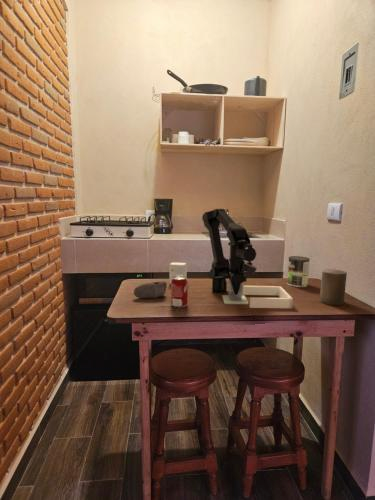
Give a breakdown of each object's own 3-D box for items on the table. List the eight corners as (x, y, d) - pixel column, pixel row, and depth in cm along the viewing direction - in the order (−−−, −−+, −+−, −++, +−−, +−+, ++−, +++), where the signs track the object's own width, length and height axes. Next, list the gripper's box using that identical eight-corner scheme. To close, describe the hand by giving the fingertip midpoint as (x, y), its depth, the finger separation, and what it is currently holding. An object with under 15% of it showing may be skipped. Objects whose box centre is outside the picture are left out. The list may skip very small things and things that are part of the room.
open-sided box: (250, 307, 128) (250, 298, 127) (242, 294, 146) (243, 285, 145) (292, 308, 128) (293, 299, 127) (280, 294, 146) (280, 286, 145)
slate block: (229, 300, 135) (230, 284, 133) (228, 297, 139) (229, 281, 138) (241, 300, 134) (242, 285, 133) (239, 297, 139) (240, 281, 138)
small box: (186, 282, 165) (186, 262, 163) (184, 285, 160) (184, 265, 158) (171, 281, 167) (172, 261, 165) (169, 284, 161) (169, 264, 159)
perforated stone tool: (134, 300, 135) (134, 285, 134) (133, 297, 140) (133, 282, 139) (168, 298, 139) (168, 283, 138) (166, 294, 144) (166, 280, 143)
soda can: (181, 309, 125) (181, 280, 123) (167, 306, 128) (167, 278, 126) (190, 304, 131) (190, 276, 129) (177, 301, 134) (177, 274, 132)
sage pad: (224, 303, 132) (224, 302, 132) (222, 296, 142) (222, 295, 142) (248, 304, 132) (248, 302, 132) (244, 296, 142) (244, 295, 142)
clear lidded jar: (292, 287, 158) (293, 260, 155) (283, 282, 168) (285, 256, 165) (311, 287, 159) (313, 259, 156) (302, 281, 169) (303, 255, 166)
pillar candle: (345, 306, 130) (348, 271, 128) (319, 303, 134) (322, 269, 131) (342, 300, 139) (345, 267, 137) (318, 297, 143) (321, 265, 140)
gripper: (260, 261, 125) (258, 299, 127) (251, 253, 143) (249, 286, 146) (232, 261, 125) (230, 299, 127) (226, 253, 143) (225, 286, 146)
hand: (235, 292), depth 136 cm, fingers open, 6 cm apart
